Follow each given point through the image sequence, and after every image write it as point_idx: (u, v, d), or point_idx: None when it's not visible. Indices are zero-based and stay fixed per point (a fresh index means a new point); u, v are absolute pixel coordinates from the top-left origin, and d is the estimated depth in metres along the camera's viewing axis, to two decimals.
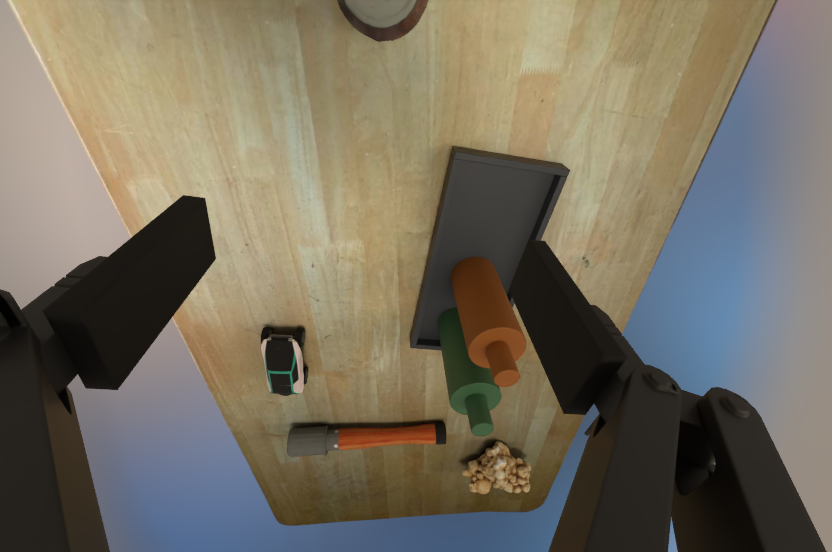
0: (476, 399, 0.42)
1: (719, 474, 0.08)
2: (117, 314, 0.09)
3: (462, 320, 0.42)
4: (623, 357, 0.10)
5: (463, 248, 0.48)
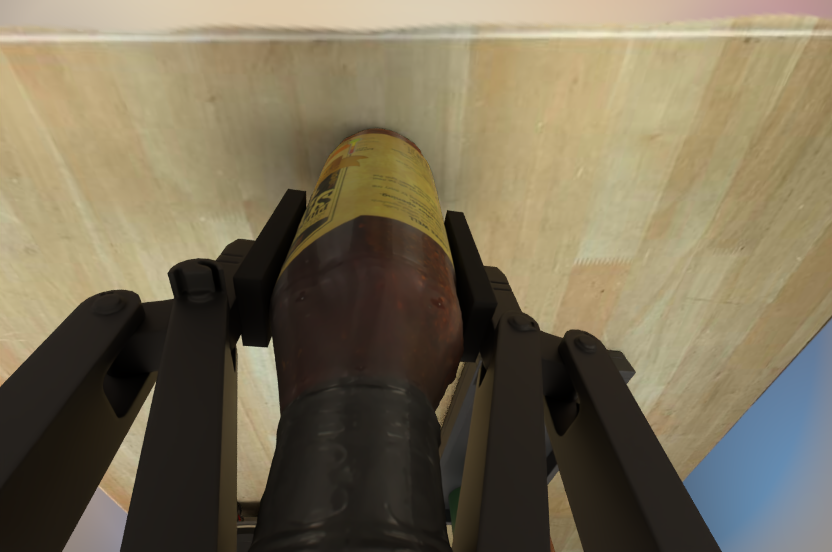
0: None
1: (583, 412, 0.09)
2: (271, 284, 0.11)
3: None
4: (494, 303, 0.11)
5: None
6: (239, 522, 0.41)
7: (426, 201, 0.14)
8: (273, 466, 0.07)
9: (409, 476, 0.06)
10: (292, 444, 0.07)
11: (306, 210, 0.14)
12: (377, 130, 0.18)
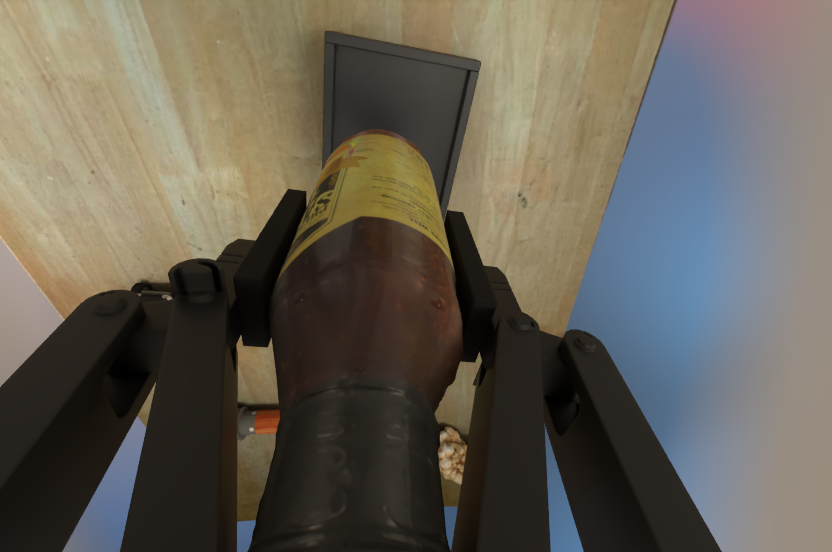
0: None
1: (583, 412, 0.09)
2: (272, 284, 0.11)
3: None
4: (494, 303, 0.11)
5: None
6: (144, 291, 0.43)
7: (426, 202, 0.14)
8: (272, 468, 0.07)
9: (408, 477, 0.06)
10: (291, 446, 0.07)
11: (306, 211, 0.14)
12: (377, 131, 0.18)
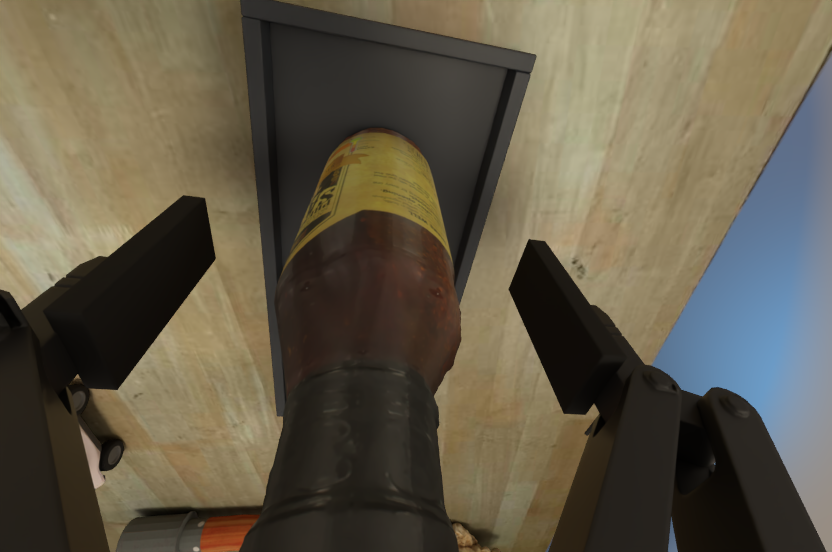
0: None
1: (719, 474, 0.08)
2: (117, 315, 0.09)
3: None
4: (623, 357, 0.10)
5: None
6: None
7: (425, 197, 0.14)
8: (281, 442, 0.07)
9: (409, 449, 0.07)
10: (299, 421, 0.07)
11: (309, 206, 0.14)
12: (377, 129, 0.19)
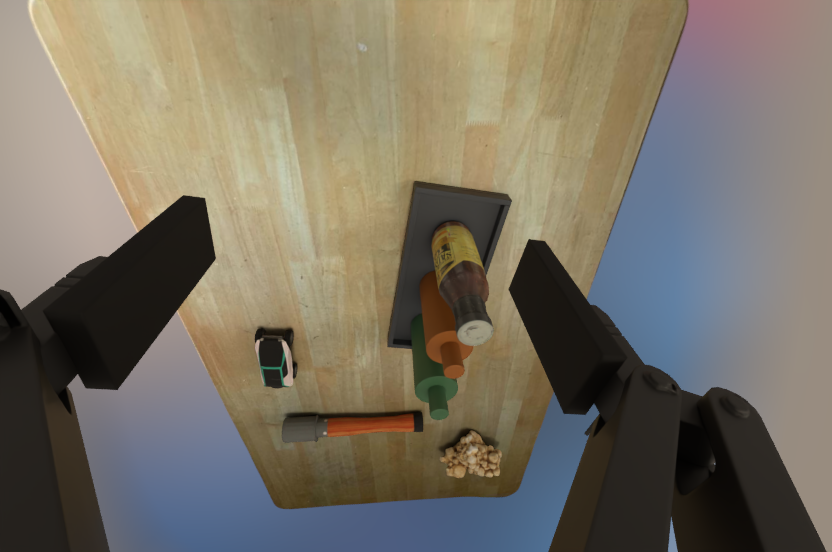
0: (436, 389, 0.51)
1: (719, 474, 0.08)
2: (117, 315, 0.09)
3: (424, 324, 0.51)
4: (623, 357, 0.10)
5: (428, 263, 0.56)
6: (264, 336, 0.61)
7: (476, 253, 0.46)
8: (457, 309, 0.40)
9: (482, 308, 0.39)
10: (461, 304, 0.40)
11: (440, 256, 0.46)
12: (453, 223, 0.51)
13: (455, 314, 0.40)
